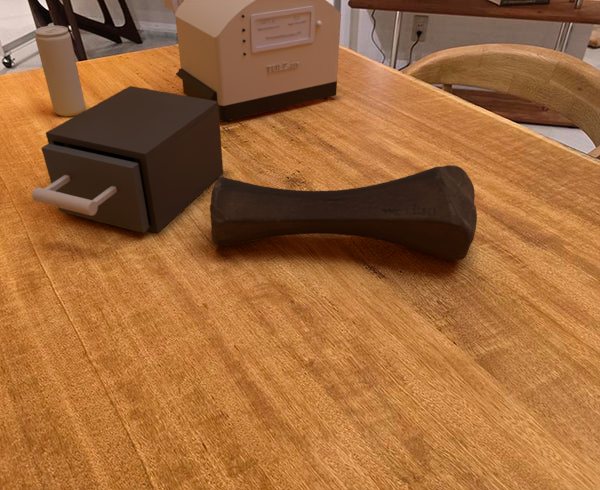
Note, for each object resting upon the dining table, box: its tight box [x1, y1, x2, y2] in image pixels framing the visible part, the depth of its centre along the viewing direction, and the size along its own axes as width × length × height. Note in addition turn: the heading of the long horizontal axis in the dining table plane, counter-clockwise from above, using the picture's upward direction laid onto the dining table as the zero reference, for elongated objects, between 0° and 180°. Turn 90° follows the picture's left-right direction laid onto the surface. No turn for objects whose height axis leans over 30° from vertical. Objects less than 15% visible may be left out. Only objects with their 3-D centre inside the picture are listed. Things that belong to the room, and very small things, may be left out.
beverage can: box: [34, 25, 86, 117], centre depth 88 cm, size 5×5×12 cm
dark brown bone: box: [209, 164, 478, 262], centre depth 62 cm, size 11×10×28 cm
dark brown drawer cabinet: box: [45, 85, 224, 234], centre depth 70 cm, size 16×13×10 cm
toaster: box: [161, 0, 342, 124], centre depth 95 cm, size 23×25×17 cm
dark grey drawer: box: [31, 143, 150, 234], centre depth 67 cm, size 19×11×8 cm, turn 158°
